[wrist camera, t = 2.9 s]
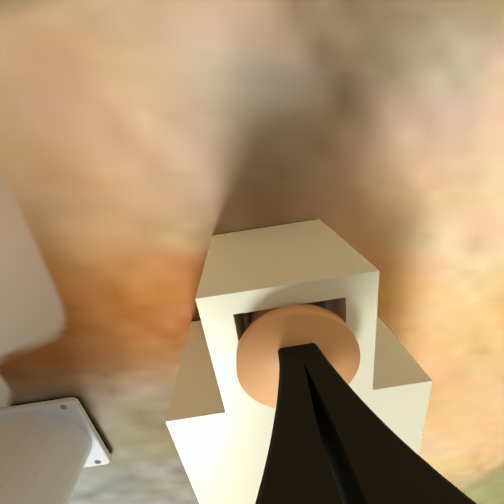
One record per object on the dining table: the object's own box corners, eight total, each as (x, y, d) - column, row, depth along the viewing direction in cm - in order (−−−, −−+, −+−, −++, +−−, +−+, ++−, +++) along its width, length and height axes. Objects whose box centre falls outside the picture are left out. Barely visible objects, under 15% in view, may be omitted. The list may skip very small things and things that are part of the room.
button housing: (228, 452, 24) (225, 568, 17) (168, 242, 15) (119, 310, 9) (356, 433, 24) (402, 541, 17) (363, 212, 15) (455, 259, 9)
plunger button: (243, 351, 14) (246, 417, 10) (228, 275, 12) (225, 326, 8) (329, 338, 14) (358, 400, 10) (326, 260, 12) (362, 305, 8)
